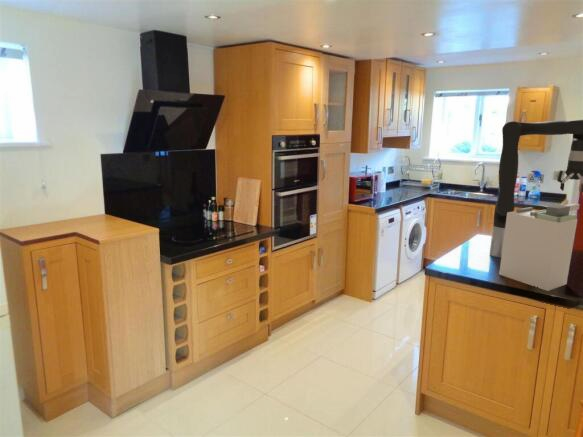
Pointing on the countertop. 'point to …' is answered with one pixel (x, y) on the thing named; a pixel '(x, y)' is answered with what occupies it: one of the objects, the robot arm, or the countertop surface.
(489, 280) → the countertop surface
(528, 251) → the cabinet
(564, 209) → the light grey rectangular prism
